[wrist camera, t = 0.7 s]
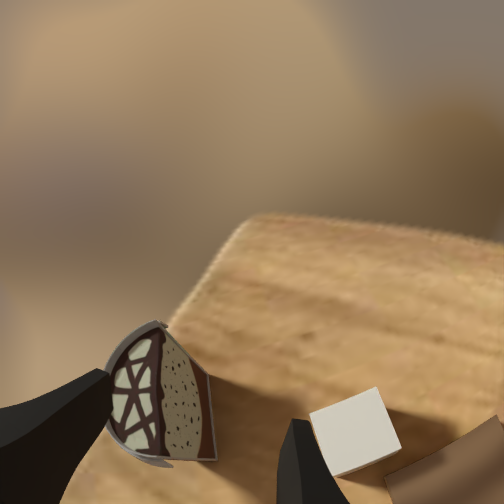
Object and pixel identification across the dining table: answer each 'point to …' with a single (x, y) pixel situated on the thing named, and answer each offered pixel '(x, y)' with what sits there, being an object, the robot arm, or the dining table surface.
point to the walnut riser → (456, 471)
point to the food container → (159, 399)
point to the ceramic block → (355, 433)
